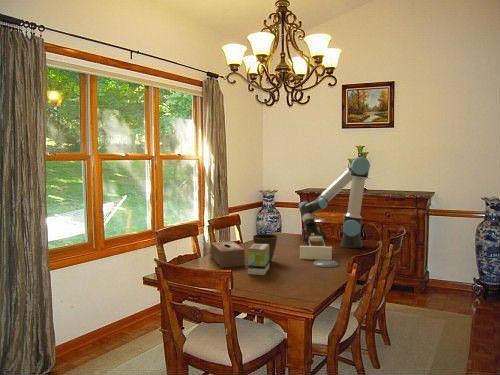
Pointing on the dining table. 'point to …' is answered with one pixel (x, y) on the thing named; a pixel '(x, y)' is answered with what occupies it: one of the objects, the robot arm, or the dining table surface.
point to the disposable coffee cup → (316, 240)
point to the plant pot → (266, 242)
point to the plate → (326, 263)
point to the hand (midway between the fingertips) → (317, 249)
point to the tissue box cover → (228, 254)
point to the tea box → (258, 259)
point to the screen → (316, 252)
